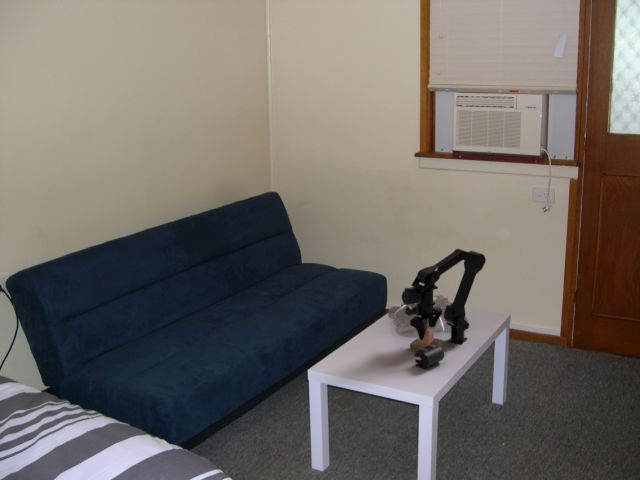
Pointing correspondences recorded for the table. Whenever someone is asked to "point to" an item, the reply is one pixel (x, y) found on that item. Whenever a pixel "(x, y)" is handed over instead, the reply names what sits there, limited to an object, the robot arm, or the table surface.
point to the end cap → (429, 356)
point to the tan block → (421, 346)
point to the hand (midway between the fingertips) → (426, 336)
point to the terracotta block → (428, 336)
